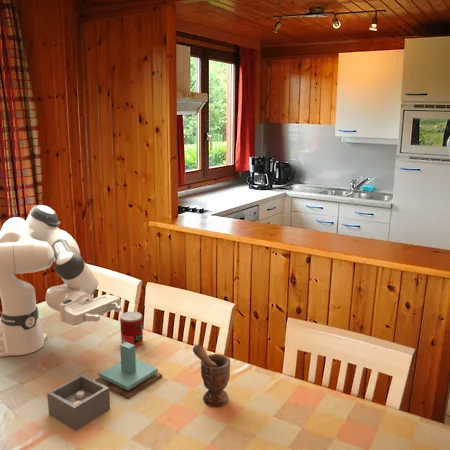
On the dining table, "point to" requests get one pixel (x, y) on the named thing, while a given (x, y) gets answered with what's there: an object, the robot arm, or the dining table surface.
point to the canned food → (131, 328)
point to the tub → (78, 401)
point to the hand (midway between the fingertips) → (109, 314)
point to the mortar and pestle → (214, 376)
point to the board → (133, 390)
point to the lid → (128, 369)
